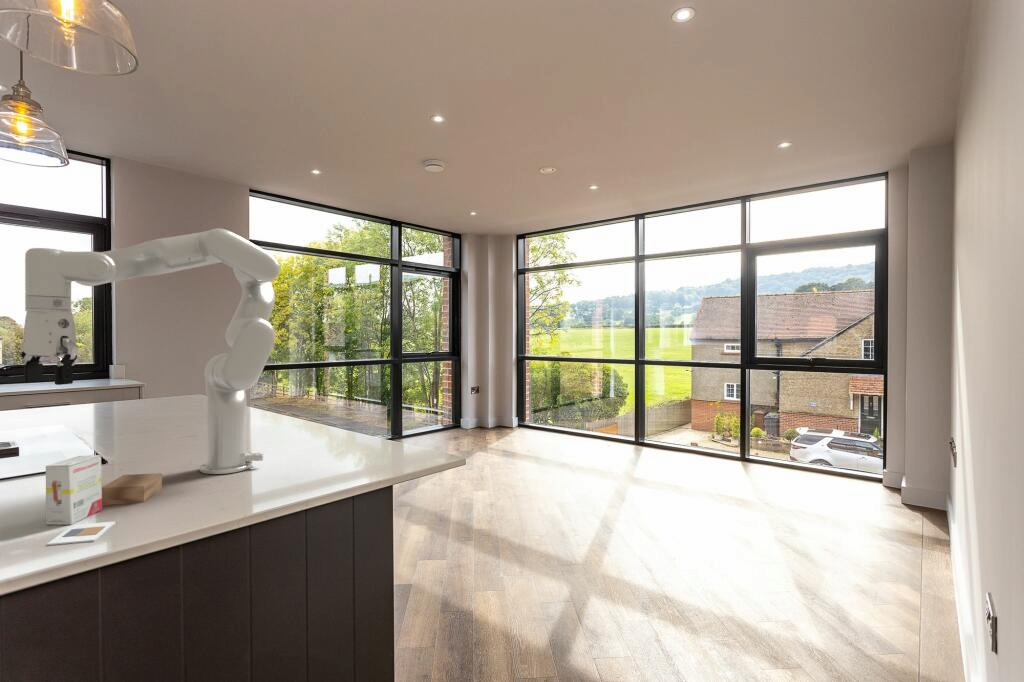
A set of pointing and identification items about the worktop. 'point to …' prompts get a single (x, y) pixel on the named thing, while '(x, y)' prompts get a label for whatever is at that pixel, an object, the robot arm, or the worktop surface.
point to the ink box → (73, 489)
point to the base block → (131, 488)
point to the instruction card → (82, 533)
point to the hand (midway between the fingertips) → (48, 382)
